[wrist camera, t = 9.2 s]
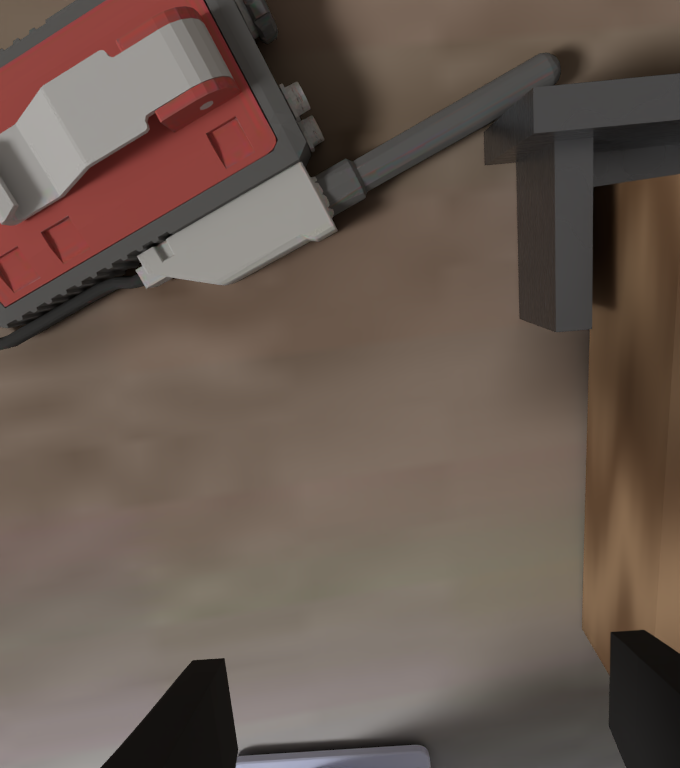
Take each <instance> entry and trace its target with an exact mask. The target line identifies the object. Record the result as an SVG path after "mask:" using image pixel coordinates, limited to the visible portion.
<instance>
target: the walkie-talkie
mask: <svg viewBox="0 0 680 768" xmlns="http://www.w3.org/2000/svg"><path fill="white" fill-rule="evenodd" d="M277 35H278V29H277V26H276V24H275V21H274V19H273V17H272V15H271V13H270V11H269V8H268V6H267V4H266V2H265V0H76V1H74V2H73V3H71V4H69V5H68V6H66V7H65V8H63V9H62V10H60V11H59V12H57V13H56V14H54V15H52V16H51V17H49V18H48V19H46V24H44V25H43V26H41V27H40V28H38V29H35V28H33V29H31V30H30V31H29V35H27V36H26V37H24V38H23V39H21V40H20V39H18V38H17V39H16V40H14V41H13V45H12V46H10V47H9V48H7V49H6V50H3V49H0V327H3V328H11V327H16V326H20V325H25V324H27V325H25V326H23V327H21V328H20V329H18V330H16V331H15V332H13V333H11V334H9V335H8V336H5V337H3V338H0V350H3V349H7V348H11V347H14V346H17V345H19V344H21V343H23V342H24V341H26V340H28V339H30V338H31V337H33V336H35V335H37V334H38V333H40V332H42V331H43V330H45V329H47V328H49V327H50V326H52V325H54V324H56V323H57V322H59V321H61V320H63V319H64V318H66V317H68V316H70V315H71V314H73V313H75V312H76V311H78V310H80V309H82V308H83V307H85V306H87V305H89V304H90V303H92V302H94V301H96V300H98V299H100V298H102V297H104V296H105V295H107V294H109V293H111V292H113V291H115V290H117V289H121V288H138V287H141V286H144V285H145V287H146V288H152V287H158V286H159V285H161V284H163V283H165V282H166V281H168V280H170V279H172V278H178V279H185V280H191V281H198V282H204V283H211V284H218V285H229V284H233V283H236V282H238V281H239V280H241V279H243V278H245V277H247V276H248V275H250V274H252V273H254V272H256V271H258V270H259V269H261V268H263V267H265V266H267V265H268V264H270V263H272V262H274V261H276V260H278V259H279V258H281V257H283V256H285V255H287V254H288V253H290V252H292V251H294V250H296V249H298V248H299V247H301V246H303V245H305V244H307V243H308V242H310V241H318V242H320V241H322V240H323V239H325V238H327V237H328V236H330V235H332V234H333V233H335V232H337V228H336V226H335V224H334V222H333V220H332V218H333V216H335V215H337V214H338V213H340V212H342V211H344V210H346V209H347V208H349V207H351V206H353V205H354V204H356V203H358V202H360V201H362V200H363V199H365V198H366V194H367V191H369V190H371V189H373V188H375V187H376V186H378V185H380V184H382V183H384V182H385V181H387V180H389V179H391V178H392V177H394V176H396V175H398V174H400V173H401V172H403V171H405V170H407V169H409V168H410V167H412V166H414V165H416V164H417V163H419V162H421V161H423V160H425V159H426V158H428V157H430V156H432V155H434V154H435V153H437V152H439V151H441V150H442V149H444V148H446V147H448V146H450V145H451V144H453V143H455V142H457V141H458V140H460V139H462V138H464V137H466V136H467V135H469V134H471V133H473V132H475V131H476V130H478V129H480V128H482V127H483V126H485V125H487V124H489V123H491V122H492V121H494V120H496V119H498V118H499V117H501V116H502V115H503V114H504V113H505V112H506V111H508V110H509V109H510V108H511V107H512V106H513V105H514V104H515V103H516V102H518V101H519V100H520V99H521V98H522V97H523V96H524V95H525V94H527V93H528V92H529V91H530V90H531V89H532V88H533V87H544V86H554V85H555V84H556V82H557V81H558V80H559V77H560V74H561V67H560V63H559V60H558V59H557V58H556V57H555V56H554V55H552V54H550V53H541V54H538V55H536V56H534V57H533V58H531V59H529V60H527V61H526V62H524V63H522V64H521V65H519V66H517V67H515V68H514V69H512V70H510V71H508V72H507V73H505V74H503V75H501V76H500V77H498V78H496V79H494V80H493V81H491V82H489V83H488V84H486V85H484V86H482V87H481V88H479V89H477V90H475V91H474V92H472V93H470V94H468V95H467V96H465V97H463V98H462V99H460V100H458V101H456V102H455V103H453V104H451V105H449V106H448V107H446V108H444V109H442V110H441V111H439V112H437V113H436V114H434V115H432V116H430V117H429V118H427V119H425V120H423V121H422V122H420V123H418V124H416V125H415V126H413V127H411V128H410V129H408V130H406V131H404V132H403V133H401V134H399V135H397V136H396V137H394V138H392V139H390V140H389V141H387V142H385V143H383V144H382V145H380V146H378V147H377V148H375V149H373V150H371V151H370V152H368V153H366V154H364V155H363V156H361V157H359V158H357V159H356V160H354V161H350V160H348V159H344V160H342V161H340V162H339V163H337V164H335V165H333V166H332V167H330V168H328V169H326V170H325V171H323V172H321V173H319V174H318V175H316V176H314V177H310V176H309V174H308V172H307V170H306V166H307V164H308V162H309V159H310V157H311V153H310V152H311V151H312V152H314V151H315V149H314V146H316V145H318V144H319V143H321V142H323V141H324V137H323V135H322V133H321V130H320V128H319V126H318V124H317V123H316V121H315V119H314V117H313V116H312V115H311V116H309V117H307V118H306V119H303V120H302V121H301V119H300V117H299V116H300V115H301V114H303V113H305V112H306V111H308V110H310V109H311V108H310V105H309V103H308V101H307V98H306V96H305V94H304V92H303V90H302V88H301V87H300V85H299V83H298V82H295V83H292V84H291V85H290V86H287V87H284V85H283V83H282V84H280V85H279V87H280V88H279V87H278V85H277V84H276V82H275V80H274V78H273V76H272V74H271V72H270V70H269V68H268V66H267V64H266V62H265V60H264V58H263V56H262V55H261V53H260V51H259V49H258V47H257V45H256V43H255V40H254V39H256V38H257V37H260V39H261V41H262V42H264V43H266V44H269V43H270V42H272V41H273V40H275V39H277ZM139 262H141V264H142V267H140V268H138V269H136V272H137V274H136V275H134V276H122V275H124V274H126V273H125V270H127V269H129V268H136V267H138V266H139ZM115 276H120V277H115Z"/></svg>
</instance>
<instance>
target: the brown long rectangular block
mask: <svg viewBox="0 0 680 768" xmlns="http://www.w3.org/2000/svg"><path fill="white" fill-rule="evenodd" d="M582 629H583V631H584V633H585V635H586V636H587V638H588V640H589V641H590V643H591V645H592V647H593V648H594V650H595V652H596V653H597V655H598V657H599V658H600V660H601V662H602V664H603V665H604V667H605V669H606V670H607V672H608V674H609V675H610V633H611V632H618V631H632V630H645V631H647V632H648V633H650V634H652V635H653V636H655V637H656V638H658V639H659V640H661V641H662V642H664V643H665V644H667V645H668V646H670V647H671V648H672V649H674V650H675V651H677V652H678V653H680V174H677V175H670V176H663V177H657V178H650V179H643V180H636V181H629V182H623V183H616V184H609V185H602V186H596V187H593V273H592V329H590V340H589V379H588V417H587V456H586V494H585V533H584V572H583V610H582Z"/></svg>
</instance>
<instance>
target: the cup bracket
mask: <svg viewBox="0 0 680 768" xmlns="http://www.w3.org/2000/svg"><path fill="white" fill-rule="evenodd" d="M484 155H485V165H493V164H504V163H514V162H516V170H517V218H518V266H519V313H520V319H522V320H524V321H527V322H530V323H533V324H535V325H538V326H541V327H543V328H546V329H549V330H551V331H554V332H564V331H576V330H588V329H592V273H593V187H596V186H602V185H609V184H616V183H623V182H629V181H636V180H643V179H650V178H657V177H663V176H670V175H677V174H680V73H678V74H667V75H657V76H647V77H637V78H626V79H616V80H606V81H595V82H585V83H575V84H564V85H554V86H544V87H533V88H532V89H531V90H530V91H529V92H528V93H527V94H525V95H524V96H523V97H522V98H521V99H520V100H519V101H518V102H516V103H515V104H514V105H513V106H512V107H511V108H510V109H509V110H508V111H506V112H505V113H504V114H503V115H502V116H501V117H500V118H499V119H498V120H496V121H495V122H494V123H493V124H492V125H491V126H490V127H489V128H488V129H486V130H485V131H484Z"/></svg>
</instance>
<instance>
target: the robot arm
mask: <svg viewBox="0 0 680 768" xmlns="http://www.w3.org/2000/svg"><path fill="white" fill-rule="evenodd" d="M609 727H610V730H611V732H612V735H613V737H614V739H615V742H616V744H617V747H618V749H619V752H620V754H621V756H622V759H623V761H624V763H625V766H626V768H680V653H678V652H677V651H675V650H674V649H672V648H671V647H670V646H668V645H667V644H665V643H664V642H662V641H661V640H659V639H658V638H656V637H655V636H653V635H652V634H650V633H648V632H647V631H645V630H632V631H618V632H611V633H610V692H609ZM237 754H238V746H237V739H236V732H235V726H234V719H233V712H232V706H231V699H230V692H229V686H228V679H227V672H226V666H225V659H224V658H222V659H207V660H193V661H192V662H191V663H190V664H189V665H188V666H187V667H186V669H185V670H184V671H183V672H182V673H181V674H180V676H179V677H178V678H177V679H176V681H175V682H174V683H173V684H172V685H171V687H170V688H169V689H168V690H167V691H166V693H165V694H164V695H163V696H162V698H161V699H160V700H159V701H158V702H157V704H156V705H155V706H154V707H153V708H152V710H151V711H150V712H149V713H148V714H147V716H146V717H145V718H144V719H143V720H142V721H141V723H140V724H139V725H138V726H137V727H136V728H135V730H134V731H133V732H132V733H131V734H130V735H129V736H128V738H127V739H126V740H125V741H124V742H123V743H122V745H121V746H120V747H119V748H118V749H117V750H116V751H115V753H114V754H113V755H112V756H111V757H110V758H109V759H108V760H107V761H106V762H105V763H104V764H103V766H102V767H101V768H431V765H430V756H429V752H428V750H427V749H426V748H425V747H423V746H421V745H404V746H388V747H372V748H357V749H341V750H325V751H310V752H294V753H278V754H263V755H247V756H238V757H237Z"/></svg>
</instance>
